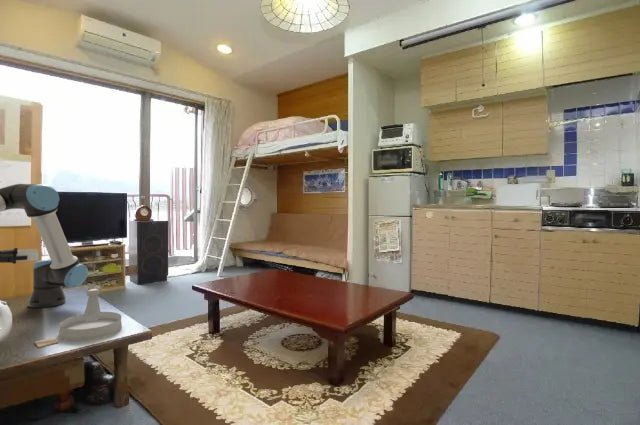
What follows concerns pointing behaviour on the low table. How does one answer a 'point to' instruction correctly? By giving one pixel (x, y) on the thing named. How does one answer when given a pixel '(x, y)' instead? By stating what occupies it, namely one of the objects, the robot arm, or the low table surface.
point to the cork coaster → (46, 342)
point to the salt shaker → (92, 306)
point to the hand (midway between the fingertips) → (38, 254)
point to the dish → (89, 327)
